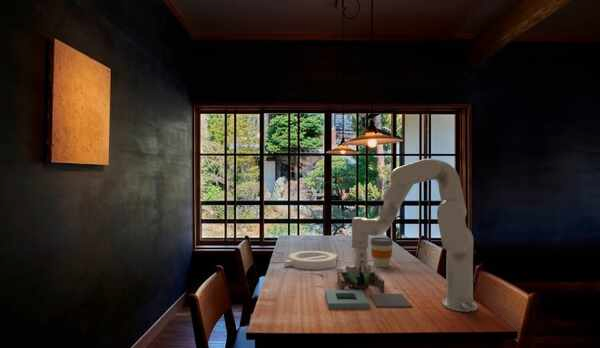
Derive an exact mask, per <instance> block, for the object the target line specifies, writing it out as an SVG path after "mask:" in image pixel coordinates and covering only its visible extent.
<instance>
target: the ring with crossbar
mask: <svg viewBox="0 0 600 348" xmlns="http://www.w3.org/2000/svg"><path fill="white" fill-rule="evenodd" d="M339 259H340V255H339V254H337V253H332V252H329V251H323V250H303V251H296V252H292V253H290V254H289V255H288V259H287V260H284V261H283V263H284V264H283V265H284V266H286V267H293V268H297V269H300V270H301V269H302V270H325V269H330V268H333V267H335V266H336V265H337V260H339Z"/></svg>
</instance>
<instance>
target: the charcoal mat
mask: <svg viewBox="0 0 600 348" xmlns="http://www.w3.org/2000/svg"><path fill="white" fill-rule="evenodd" d="M369 298H370V299H371V301H372V302H373V303H374V306H375V305H376V306H375V307H376V308H377V307H382V308H413V305H412V304H411V302H410V301H409V300H408V299H407V298H406V297H405V296H404V295H403V294H402V293H369Z"/></svg>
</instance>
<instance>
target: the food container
mask: <svg viewBox="0 0 600 348" xmlns="http://www.w3.org/2000/svg"><path fill="white" fill-rule="evenodd" d="M344 270H345V272H347V278H348V283H347V285H348V286H347V287H348V288H349V289H350V290H362V291H363V290H367V289H368V288H369V284H370V283H369V273H370V272H372V267H371V264H368V270H365V268H364V273H365V285H364V286H358V285H357V281H358V270H357V268H355V266H352V267H351V266H348V265H346V266H345V269H344ZM359 270H361V268H359ZM360 272H361V271H360Z"/></svg>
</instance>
